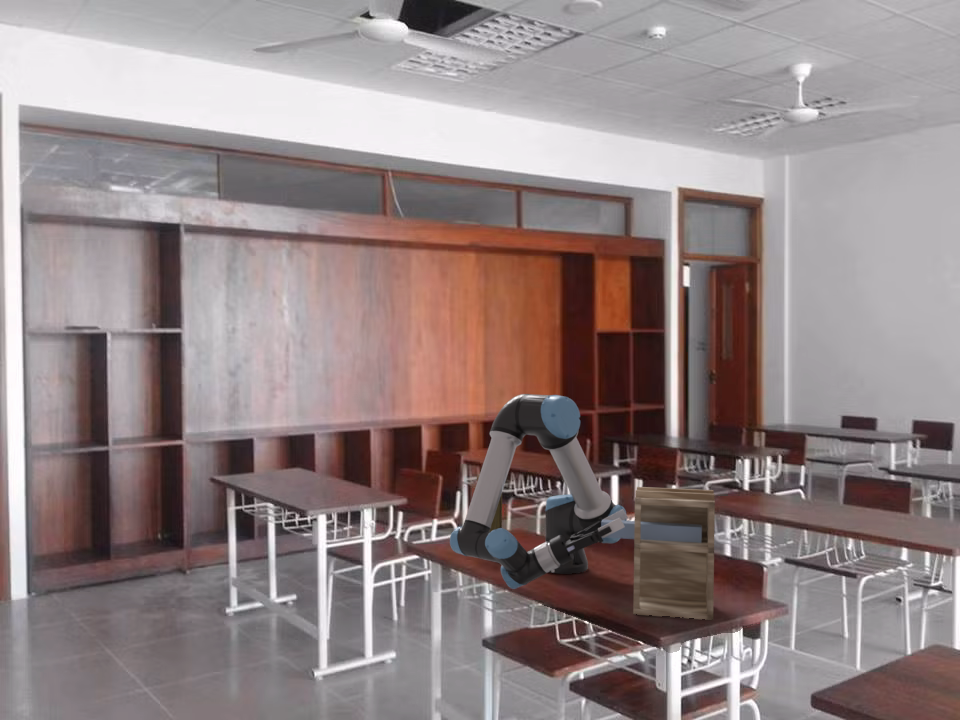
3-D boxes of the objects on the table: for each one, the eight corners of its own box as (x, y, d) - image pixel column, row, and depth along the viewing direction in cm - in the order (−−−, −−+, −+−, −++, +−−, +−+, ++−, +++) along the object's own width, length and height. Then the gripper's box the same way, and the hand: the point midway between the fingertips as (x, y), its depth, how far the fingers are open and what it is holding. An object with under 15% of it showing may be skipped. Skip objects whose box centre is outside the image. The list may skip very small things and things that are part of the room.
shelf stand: (636, 600, 245) (637, 485, 245) (711, 605, 240) (713, 488, 240) (633, 614, 231) (635, 492, 231) (713, 620, 227) (714, 496, 227)
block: (602, 534, 242) (602, 519, 242) (701, 539, 236) (701, 524, 236) (600, 537, 238) (601, 522, 238) (701, 542, 232) (701, 527, 232)
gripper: (567, 555, 255) (633, 522, 250) (555, 576, 230) (628, 539, 226) (554, 532, 255) (620, 498, 251) (541, 550, 231) (613, 513, 227)
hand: (624, 517), depth 239 cm, fingers open, 13 cm apart
